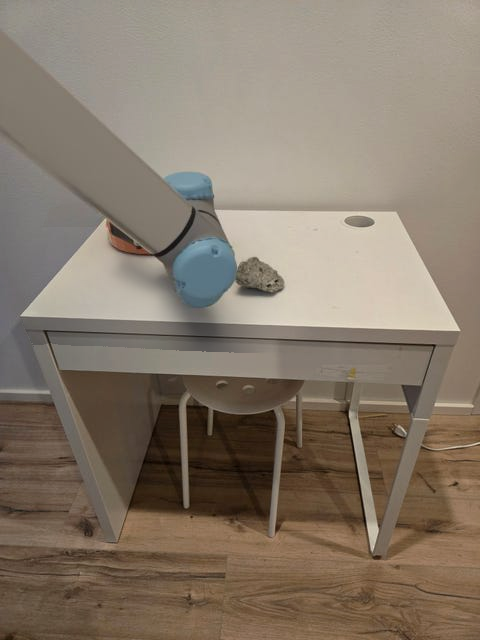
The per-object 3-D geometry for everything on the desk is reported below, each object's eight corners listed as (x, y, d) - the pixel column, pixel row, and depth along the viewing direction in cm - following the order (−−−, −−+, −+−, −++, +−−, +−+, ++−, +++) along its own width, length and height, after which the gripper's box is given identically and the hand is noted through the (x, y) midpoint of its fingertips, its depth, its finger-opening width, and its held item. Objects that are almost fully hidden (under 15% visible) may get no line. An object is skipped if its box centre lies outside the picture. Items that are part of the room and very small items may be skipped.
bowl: (107, 260, 94) (103, 241, 91) (112, 222, 110) (108, 205, 107) (202, 250, 97) (201, 232, 94) (193, 214, 113) (191, 197, 110)
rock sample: (281, 287, 76) (255, 245, 77) (248, 309, 80) (223, 269, 80) (297, 282, 86) (274, 245, 87) (267, 303, 89) (245, 267, 90)
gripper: (111, 280, 76) (97, 232, 92) (244, 254, 83) (209, 213, 99) (102, 241, 71) (89, 197, 87) (243, 216, 78) (207, 180, 94)
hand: (153, 206), depth 93 cm, fingers open, 13 cm apart
